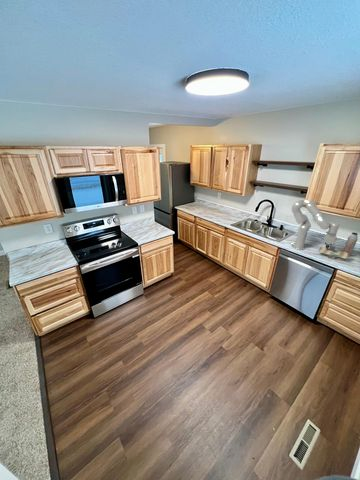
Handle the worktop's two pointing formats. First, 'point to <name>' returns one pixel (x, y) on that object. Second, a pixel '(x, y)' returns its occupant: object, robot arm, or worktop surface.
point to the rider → (331, 248)
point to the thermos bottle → (350, 244)
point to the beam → (333, 253)
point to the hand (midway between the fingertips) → (326, 248)
